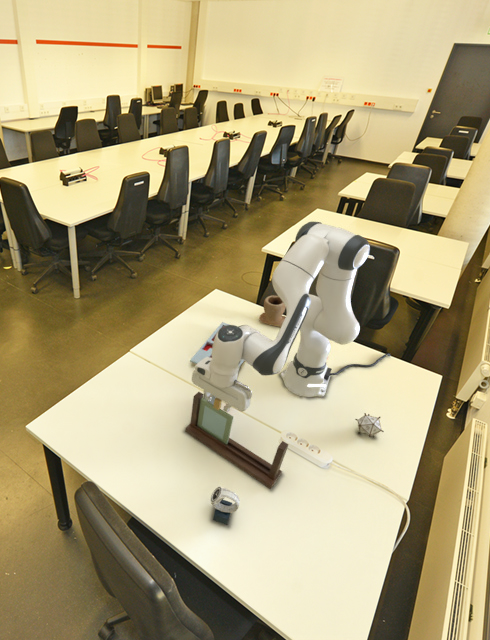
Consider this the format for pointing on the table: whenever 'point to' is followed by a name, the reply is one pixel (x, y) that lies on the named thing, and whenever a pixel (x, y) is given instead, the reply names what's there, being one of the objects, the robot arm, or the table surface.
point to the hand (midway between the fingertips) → (217, 404)
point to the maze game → (208, 348)
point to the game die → (369, 425)
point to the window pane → (215, 420)
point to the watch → (223, 504)
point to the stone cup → (273, 311)
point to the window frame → (238, 451)
